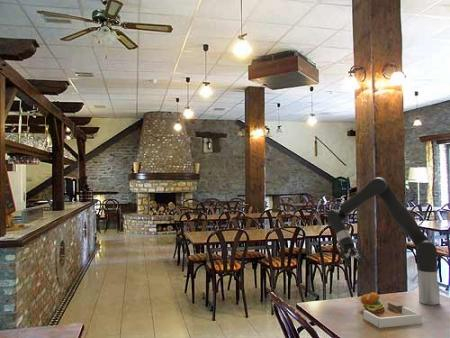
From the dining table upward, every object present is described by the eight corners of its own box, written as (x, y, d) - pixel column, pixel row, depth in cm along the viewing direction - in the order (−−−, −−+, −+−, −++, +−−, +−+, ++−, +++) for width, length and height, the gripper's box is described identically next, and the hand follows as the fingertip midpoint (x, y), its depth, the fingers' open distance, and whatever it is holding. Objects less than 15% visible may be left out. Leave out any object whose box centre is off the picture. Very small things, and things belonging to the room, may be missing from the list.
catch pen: (404, 314, 190) (403, 306, 190) (422, 323, 178) (421, 314, 178) (363, 318, 186) (363, 310, 186) (379, 327, 173) (379, 318, 174)
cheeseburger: (389, 313, 193) (384, 293, 193) (368, 318, 193) (363, 299, 193) (381, 306, 203) (376, 288, 203) (361, 311, 203) (356, 293, 203)
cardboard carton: (394, 307, 202) (394, 301, 202) (403, 311, 195) (403, 305, 195) (387, 307, 201) (387, 302, 201) (396, 312, 194) (396, 306, 195)
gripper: (338, 236, 219) (349, 262, 209) (358, 236, 224) (370, 261, 214) (331, 243, 225) (341, 268, 214) (351, 243, 230) (362, 268, 219)
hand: (356, 265), depth 214 cm, fingers open, 8 cm apart
